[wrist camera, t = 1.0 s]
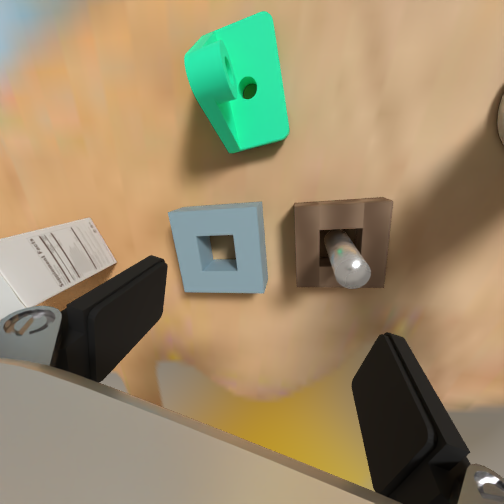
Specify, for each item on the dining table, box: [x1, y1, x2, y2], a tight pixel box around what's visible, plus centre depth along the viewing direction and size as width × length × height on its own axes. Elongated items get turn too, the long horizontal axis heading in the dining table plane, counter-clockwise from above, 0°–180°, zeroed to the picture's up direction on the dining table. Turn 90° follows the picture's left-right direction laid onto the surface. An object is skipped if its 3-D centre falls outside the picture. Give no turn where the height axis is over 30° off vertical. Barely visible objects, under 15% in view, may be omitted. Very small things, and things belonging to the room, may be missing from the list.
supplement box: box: [0, 218, 117, 320], centre depth 34 cm, size 9×9×15 cm
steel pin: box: [324, 229, 371, 289], centre depth 27 cm, size 3×3×11 cm
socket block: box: [168, 202, 268, 293], centre depth 34 cm, size 12×12×4 cm
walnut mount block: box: [294, 197, 393, 288], centre depth 31 cm, size 11×11×4 cm
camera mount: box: [184, 11, 289, 153], centre depth 24 cm, size 12×8×10 cm, turn 12°
